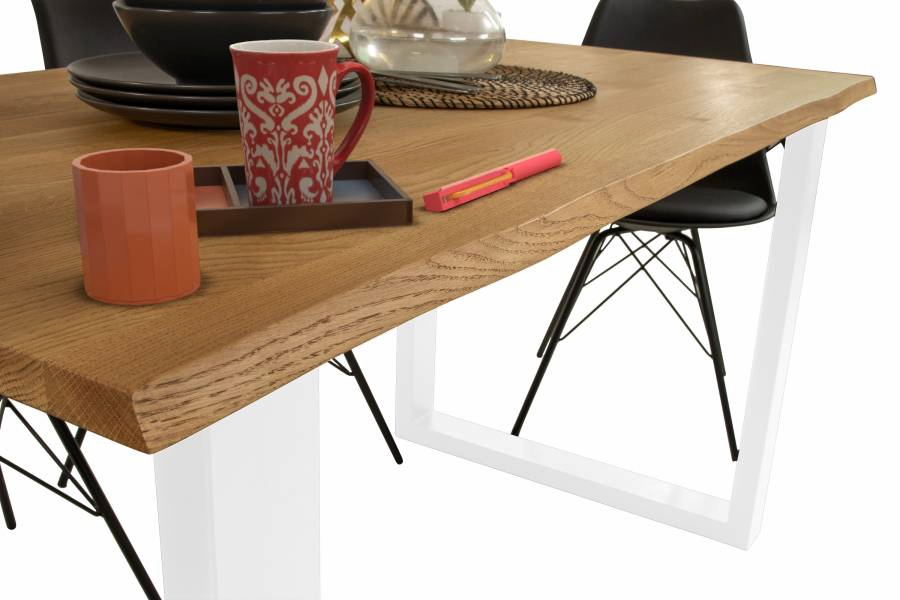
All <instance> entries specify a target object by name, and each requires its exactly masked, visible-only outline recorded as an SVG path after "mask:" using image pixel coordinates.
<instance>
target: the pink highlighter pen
mask: <svg viewBox="0 0 900 600" xmlns="http://www.w3.org/2000/svg"><path fill="white" fill-rule="evenodd" d="M562 161H563V157H562V154H561V153H560V152H559V151H557V150H556V147H552V148H550V149H546V150H544V151H541V152H538V153H534V154H532V155H529V156H527V157H524V158H520V159H519V160H515V161H512V162H509V163H506V164H504V165H501V166H497V167H495V168H492V169H490V170H487V171H484V172H481V173H478V174H474V175H472V176H470V177H466V178H463V179H461V180H458V181H455V182H453V183H449V184H447V185H444V186H440V187H439V189H437V190H434V191H431V192H429V193H426V194H424V195H422V200H423V203H424V206H425V210H426V211H431V212H436V213H439V212H440V213H441V212H443V211H446V210H448V209H452V208H454V207H457V206H460V205H462V204H464V203H467V202H469V201H472V200H475V199H478V198H480V197H483V196H485V195H489V194H490V193H493V192H497V191H498V190H501V189H503V188H506V187H509V186H510V185H511V184H513V183H517V182H519V181H521V180H525V179H526V178H529V177H532V176H534V175H536V174H539V173H542V172H544V171H547V170H550V169H552V168H553V169H554V168H555V167H558V166H560V165H561V163H562Z"/></svg>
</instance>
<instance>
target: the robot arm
mask: <svg viewBox="0 0 900 600" xmlns="http://www.w3.org/2000/svg"><path fill="white" fill-rule="evenodd" d="M258 1H259V2H261V3H273V2H274V0H258Z"/></svg>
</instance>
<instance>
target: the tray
mask: <svg viewBox="0 0 900 600" xmlns="http://www.w3.org/2000/svg"><path fill="white" fill-rule="evenodd" d="M193 171H194V186H195V202H196V217H197V233H198V238H202V237H203V238H204V237H220V236H238V235H239V236H240V235H254V234H255V235H256V234H258V235H259V234H275V233H291V232H311V231H328V230H330V231H331V230H345V229H363V228H364V229H365V228H366V229H367V228H378V227H379V228H381V227H382V228H383V227H399V226H401V227H402V226H413V225H414V224H413V223H414V221H413V220H414V199H413V198H412V197H410V196H409V195H408V194H407V192H405V191H404V189H403V188H401V186H400V185H398V184H397V183H396V182H395V181H394V180H393V178H391V177H390V176H389V174H387V173H386V171H384V170H383V169H382V168H381V166H379V165H378V164H377V163H376V162H375V161H374V160H373V159H372V158H371V159H370V158H369V159H347V160H346V161H345V162H344V164H343V165H342V167H341V168H340V169H339V170H338V172H337V173H336V174H335V176H334V178H333V198H332V202H324V203H304V204H283V205H262V206H250V204H249V201H248V194H247V186H246V174H245V166H244V163H237V164H235V163H234V164H211V165H193Z"/></svg>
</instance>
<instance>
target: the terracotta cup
mask: <svg viewBox="0 0 900 600" xmlns="http://www.w3.org/2000/svg"><path fill="white" fill-rule="evenodd" d="M193 166H194V160H193V156H192V155H191V154H189V153H186V152H184V151H180V150H174V149H170V148H169V149H168V148H156V147H155V148H154V147H153V148H152V147H133V148H115V149H107V150H99V151H94V152H90V153H86V154H82V155H80V156H78V157H75V158H73V159H72V163H71V172H72V181H73V190H74V198H75V208H76V210H75V211H76V219H77V228H78V237H79V246H80V256H81V266H82V274H83V285H84V290H85V293H86V295H87V296H88V297H89V298H91V299H93V300H95V301H97V302H100V303H104V304H110V305H121V306H142V305H143V306H145V305H155V304H160V303H167V302H170V301H171V302H172V301H174V300H175V301H176V300H178V299H181V298H184V297H187V296H189V295H191V294H192V293H195V291H197V290H198V289H199V288H200V286H201V266H200V250H199V237H198V233H197V217H196V202H195V186H194V171H193Z"/></svg>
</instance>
